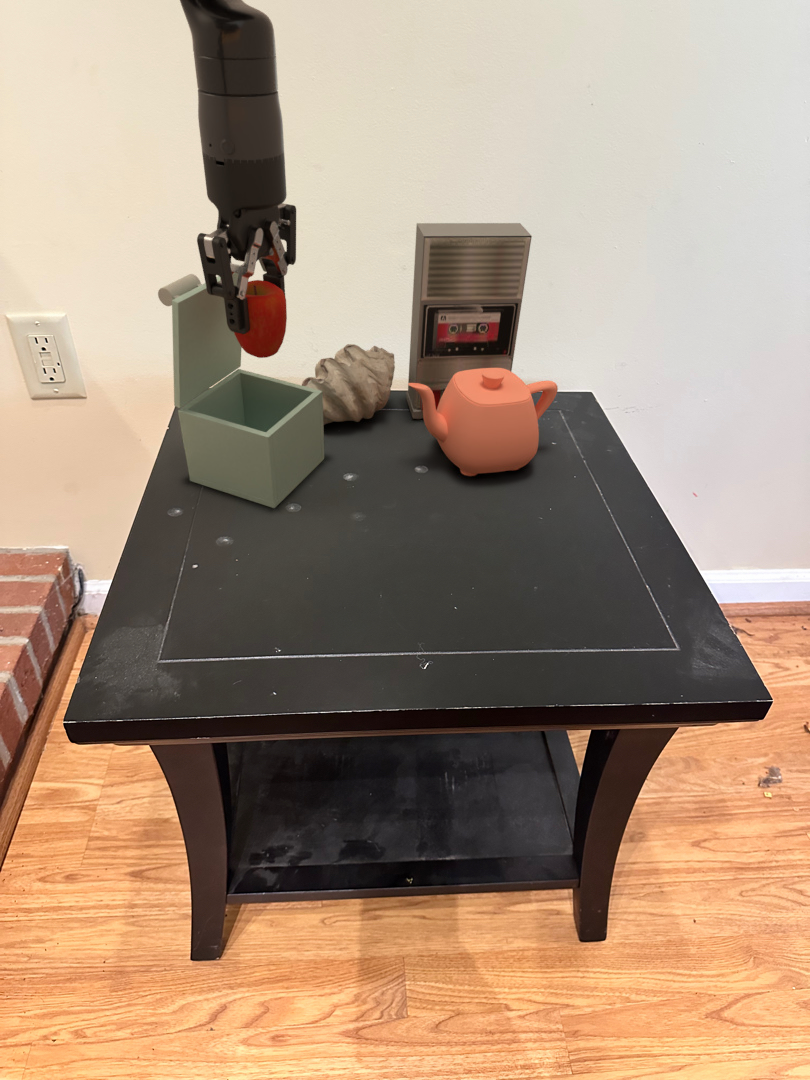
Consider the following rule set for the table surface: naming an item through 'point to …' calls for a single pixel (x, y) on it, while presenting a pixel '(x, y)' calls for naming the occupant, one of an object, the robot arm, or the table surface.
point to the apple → (264, 319)
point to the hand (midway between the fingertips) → (257, 319)
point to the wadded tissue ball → (353, 383)
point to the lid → (199, 337)
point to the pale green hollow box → (253, 436)
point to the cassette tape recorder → (464, 301)
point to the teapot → (486, 419)
